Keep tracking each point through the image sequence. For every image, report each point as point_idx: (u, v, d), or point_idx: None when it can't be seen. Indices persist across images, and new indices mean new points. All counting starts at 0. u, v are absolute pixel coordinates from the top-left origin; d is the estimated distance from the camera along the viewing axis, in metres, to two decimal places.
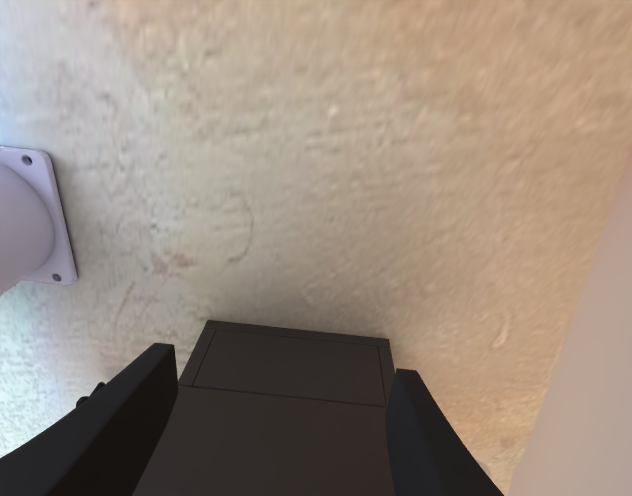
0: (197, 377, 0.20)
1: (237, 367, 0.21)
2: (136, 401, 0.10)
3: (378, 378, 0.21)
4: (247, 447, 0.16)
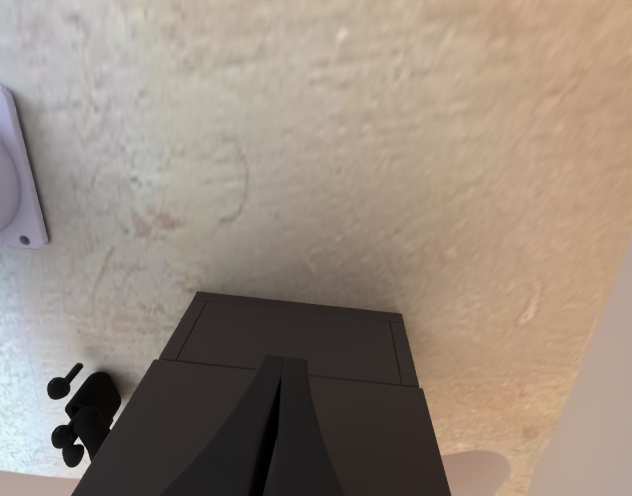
0: (182, 351, 0.17)
1: (229, 341, 0.18)
2: (270, 415, 0.10)
3: (391, 354, 0.19)
4: None
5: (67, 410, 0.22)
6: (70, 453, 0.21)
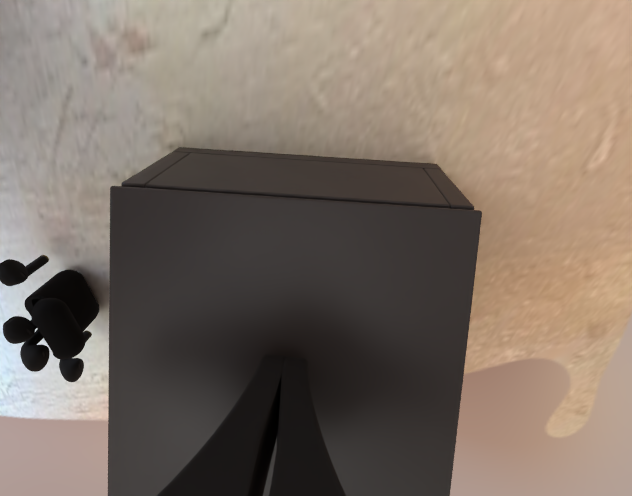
0: (154, 179, 0.13)
1: (217, 174, 0.14)
2: (270, 415, 0.10)
3: (431, 186, 0.14)
4: (243, 294, 0.12)
5: (27, 305, 0.18)
6: (29, 352, 0.17)
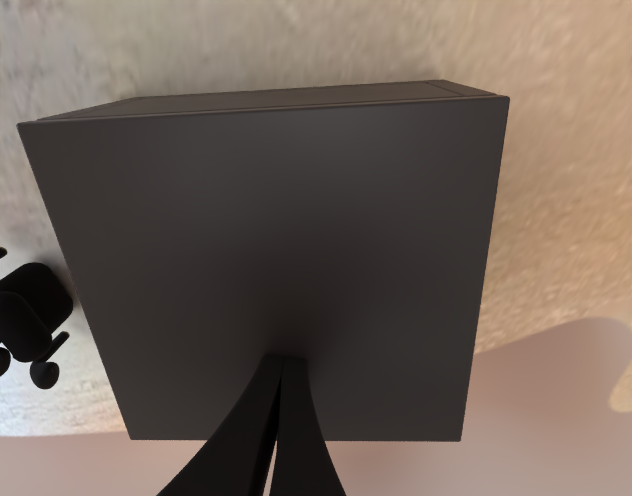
0: (80, 115, 0.10)
1: (162, 106, 0.11)
2: (270, 415, 0.10)
3: (437, 89, 0.11)
4: (213, 237, 0.10)
5: None
6: None
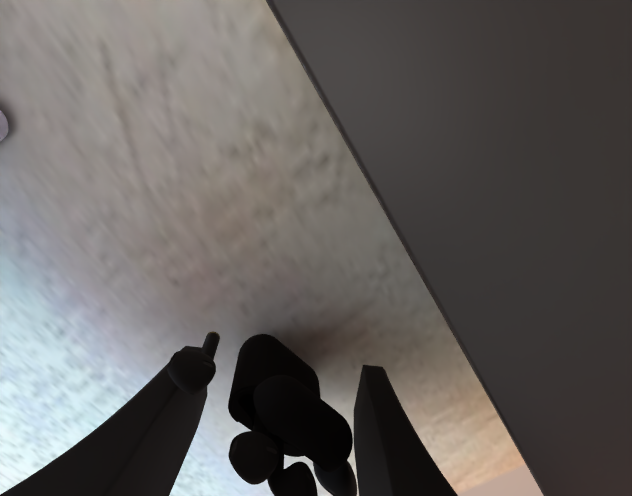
0: None
1: None
2: (173, 405, 0.10)
3: None
4: None
5: (235, 413, 0.11)
6: (289, 485, 0.09)
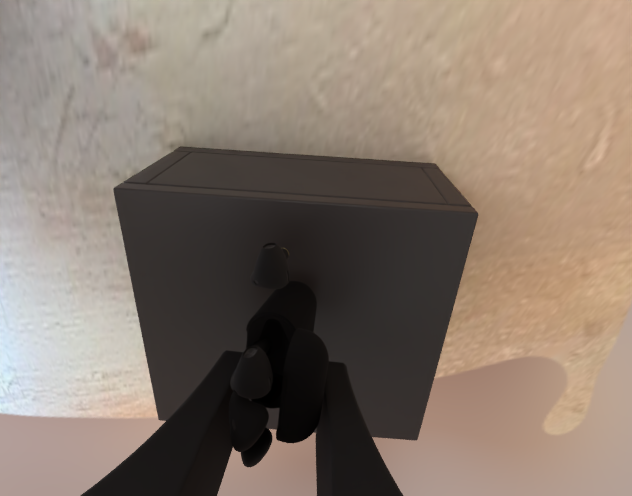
0: (156, 178, 0.13)
1: (217, 174, 0.14)
2: (222, 410, 0.10)
3: (429, 186, 0.14)
4: None
5: (254, 325, 0.10)
6: (250, 417, 0.09)
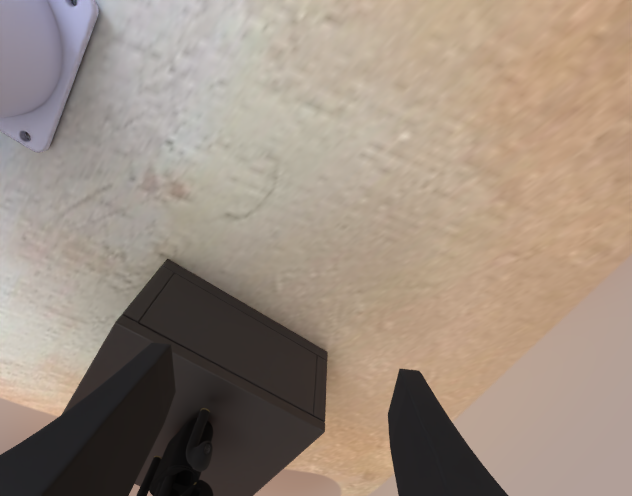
0: (145, 315, 0.18)
1: (187, 321, 0.20)
2: (132, 401, 0.10)
3: (311, 385, 0.22)
4: (173, 403, 0.19)
5: (175, 469, 0.17)
6: None
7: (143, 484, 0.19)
